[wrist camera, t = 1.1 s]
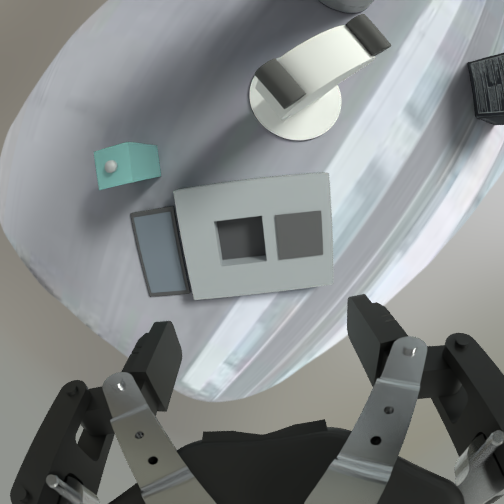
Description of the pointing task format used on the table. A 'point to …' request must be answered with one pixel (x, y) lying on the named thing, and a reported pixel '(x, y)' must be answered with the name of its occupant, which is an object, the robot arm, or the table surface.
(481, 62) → the small box
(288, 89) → the white curved stand
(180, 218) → the plate
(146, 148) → the teal knobbed block
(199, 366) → the table surface
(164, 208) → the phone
